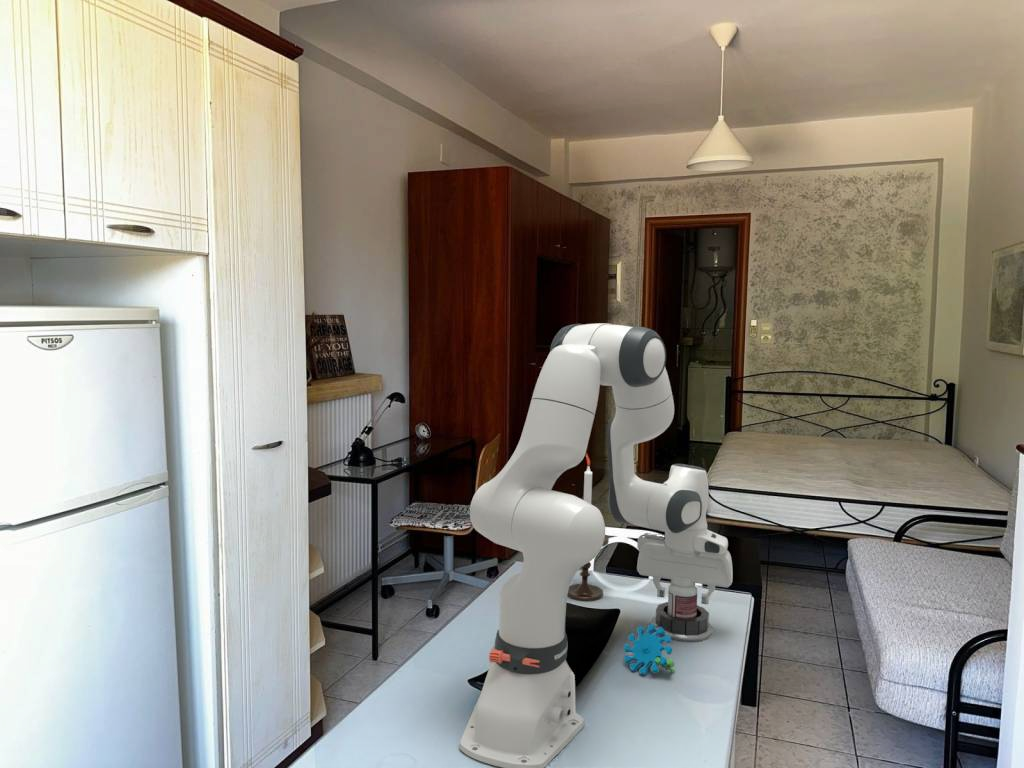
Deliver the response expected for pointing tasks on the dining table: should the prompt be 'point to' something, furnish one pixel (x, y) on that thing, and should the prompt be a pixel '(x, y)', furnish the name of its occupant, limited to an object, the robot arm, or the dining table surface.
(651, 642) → the gear
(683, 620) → the notched hollow ring
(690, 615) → the pill bottle
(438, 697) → the dining table surface
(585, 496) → the candlestick
